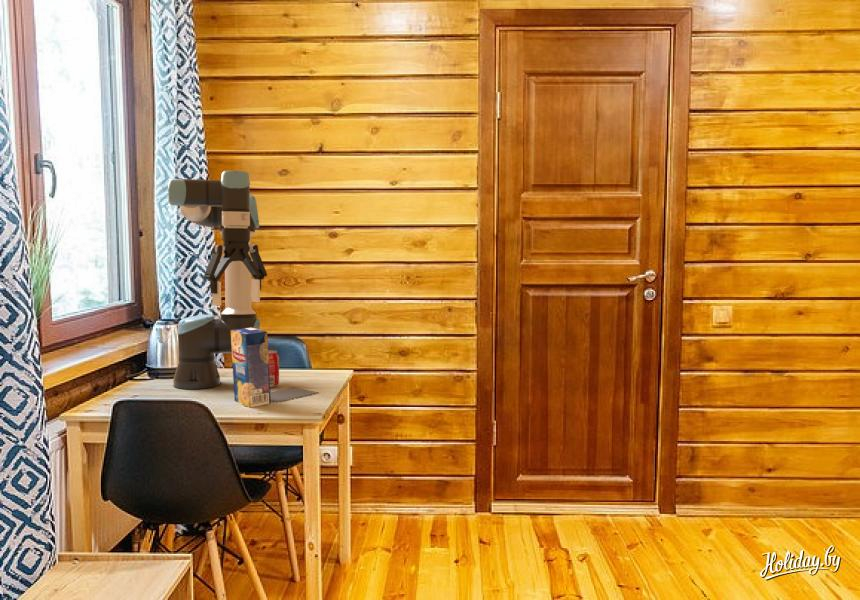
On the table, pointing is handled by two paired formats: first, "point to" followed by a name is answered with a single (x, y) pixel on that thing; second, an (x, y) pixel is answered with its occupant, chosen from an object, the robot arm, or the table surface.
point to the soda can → (273, 368)
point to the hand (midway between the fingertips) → (236, 303)
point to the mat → (289, 394)
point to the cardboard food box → (250, 366)
